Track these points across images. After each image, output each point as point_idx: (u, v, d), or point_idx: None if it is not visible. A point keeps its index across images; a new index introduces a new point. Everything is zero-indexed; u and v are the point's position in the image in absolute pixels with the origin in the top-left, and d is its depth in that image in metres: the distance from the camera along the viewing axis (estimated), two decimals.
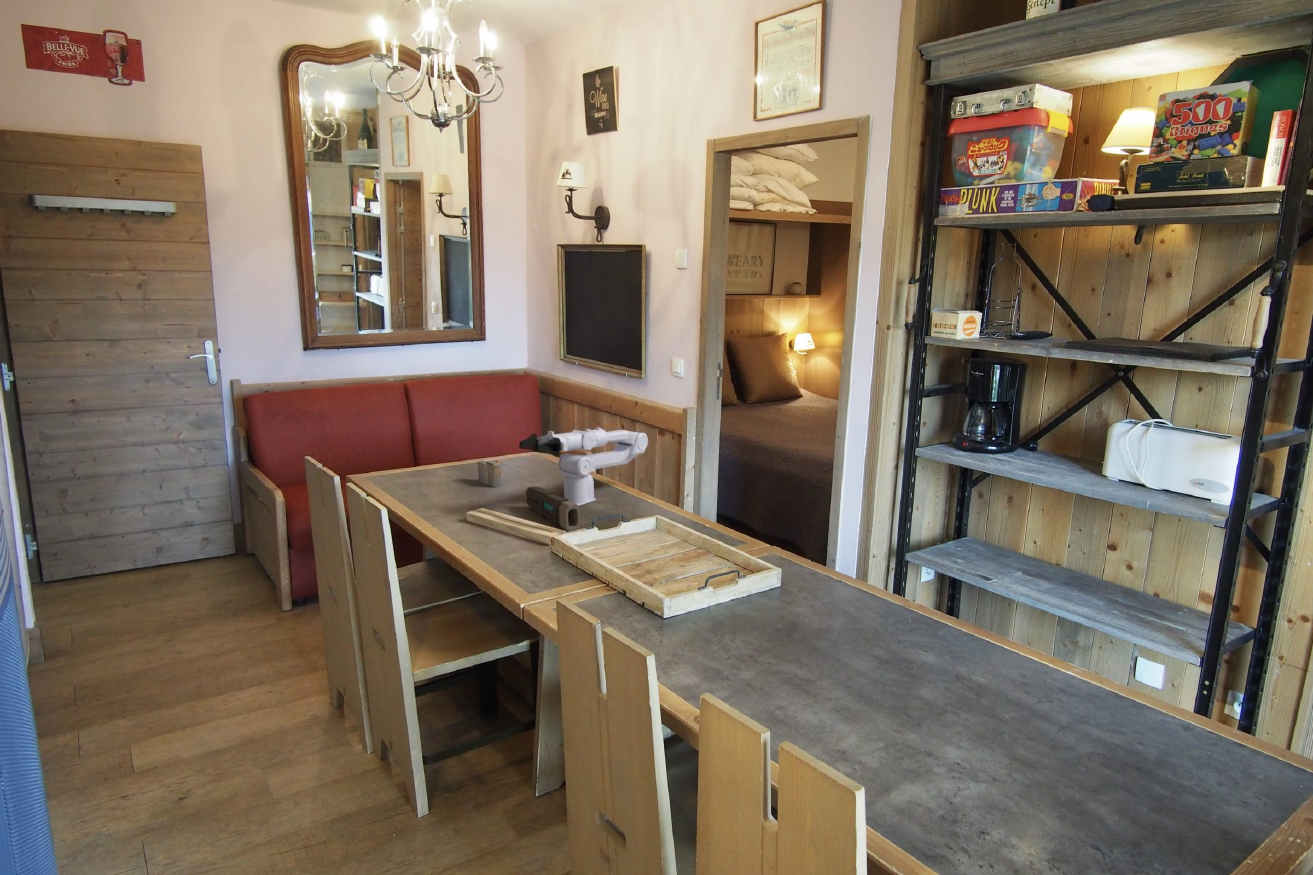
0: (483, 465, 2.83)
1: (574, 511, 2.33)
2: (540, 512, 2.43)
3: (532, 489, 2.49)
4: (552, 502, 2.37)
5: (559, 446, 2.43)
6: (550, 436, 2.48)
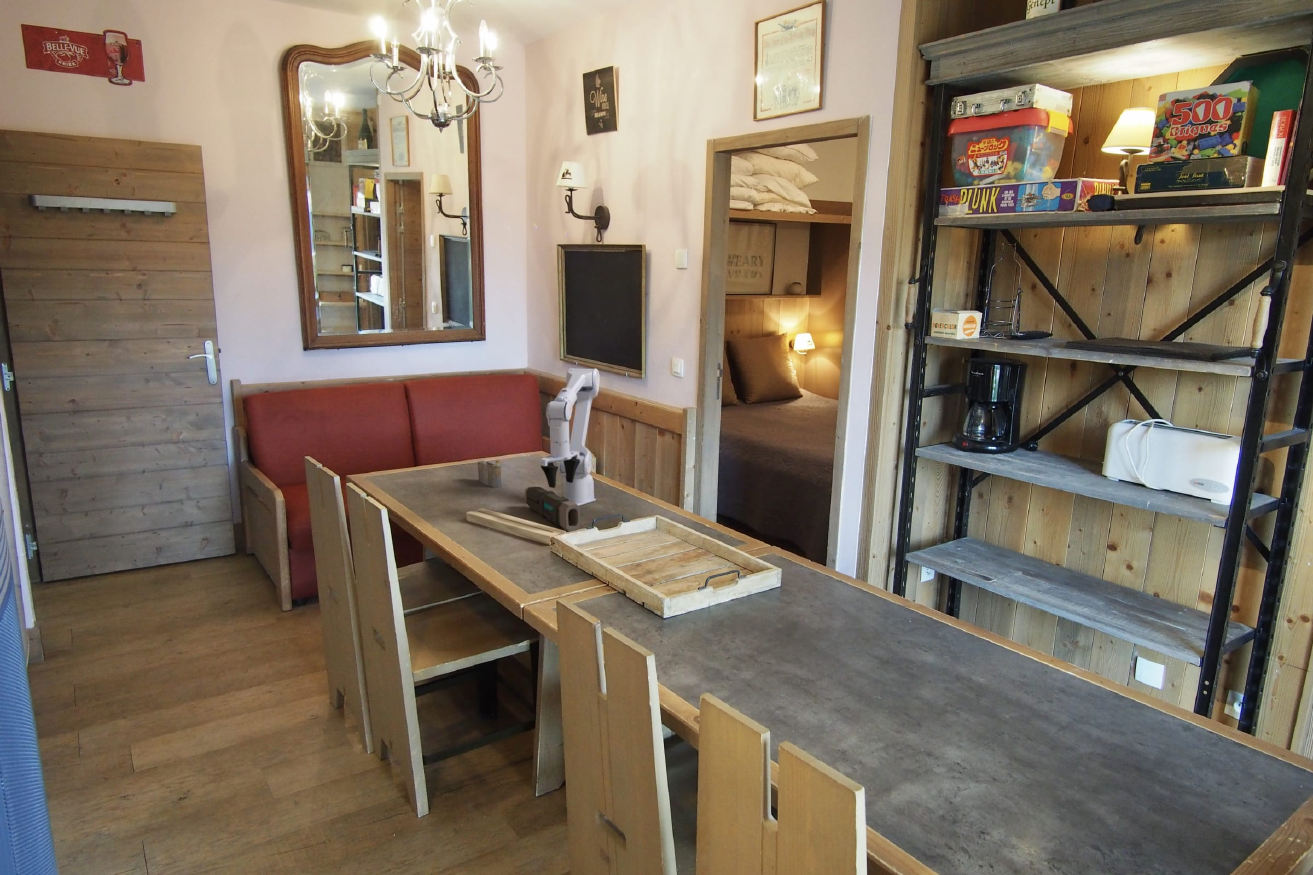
0: (483, 465, 2.83)
1: (574, 511, 2.33)
2: (540, 512, 2.43)
3: (532, 489, 2.49)
4: (552, 502, 2.37)
5: None
6: None
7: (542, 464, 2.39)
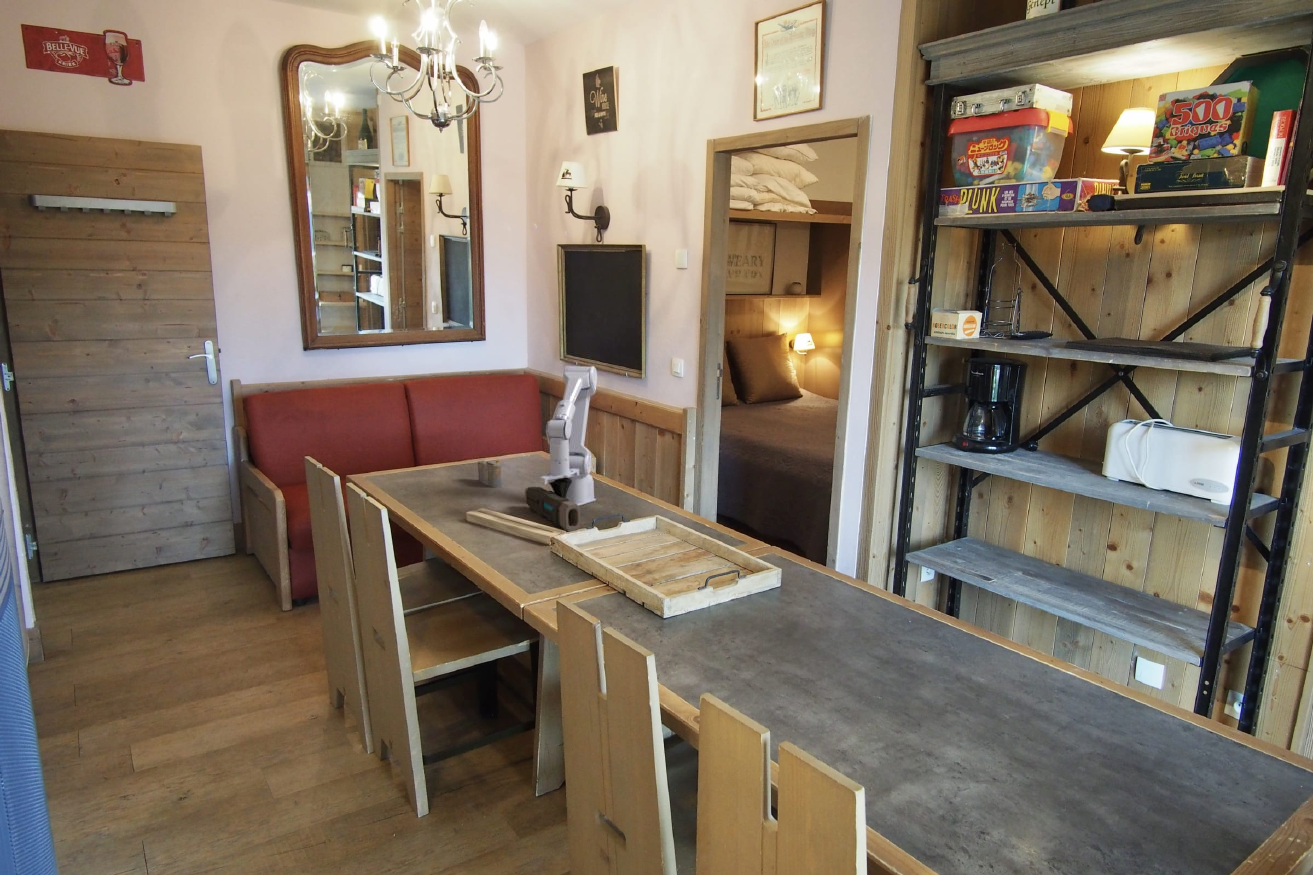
0: (483, 465, 2.83)
1: (574, 511, 2.33)
2: (540, 512, 2.43)
3: (532, 489, 2.49)
4: (552, 502, 2.37)
5: None
6: None
7: (542, 482, 2.40)
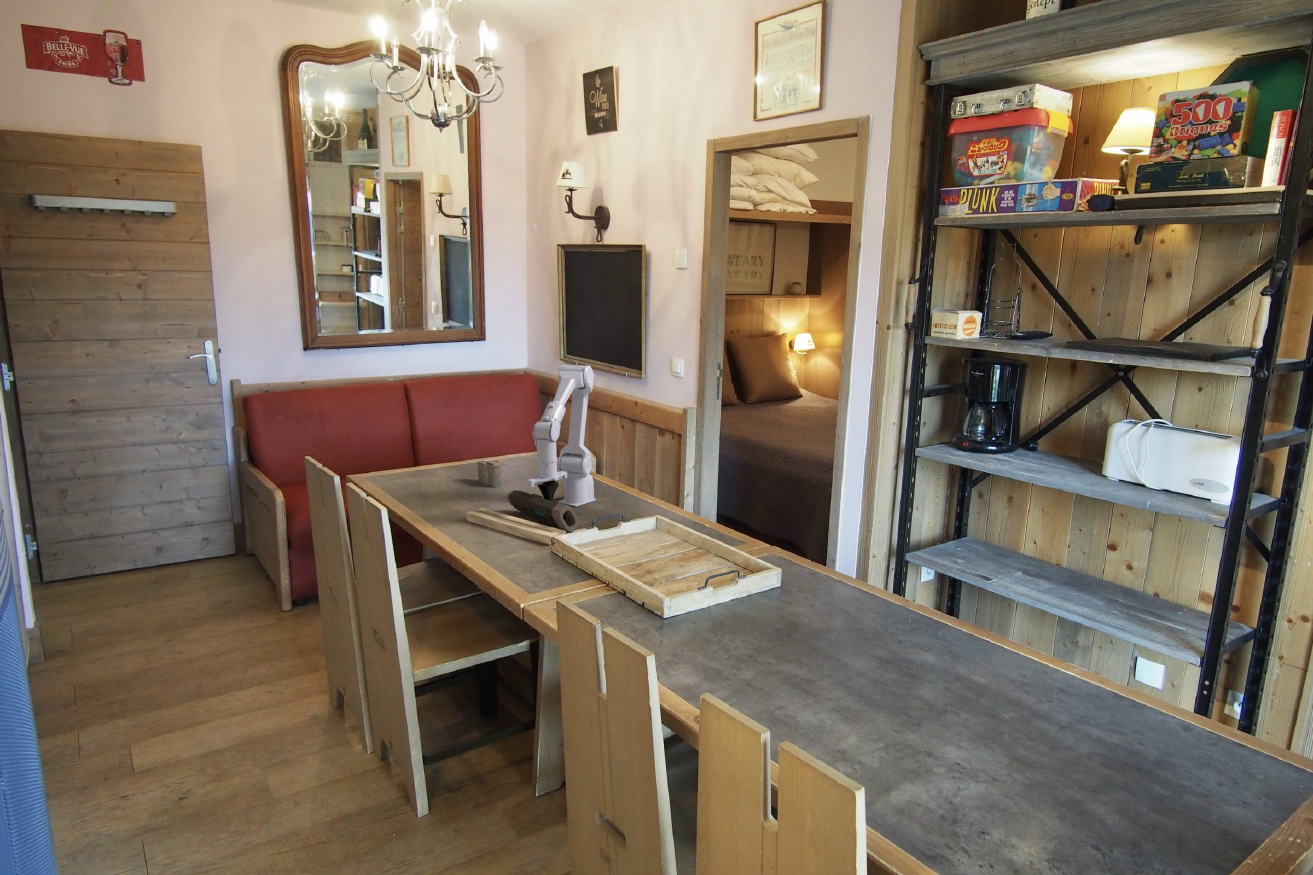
0: (483, 465, 2.83)
1: (567, 511, 2.31)
2: (533, 517, 2.41)
3: (514, 497, 2.44)
4: (541, 509, 2.34)
5: None
6: None
7: (529, 485, 2.36)
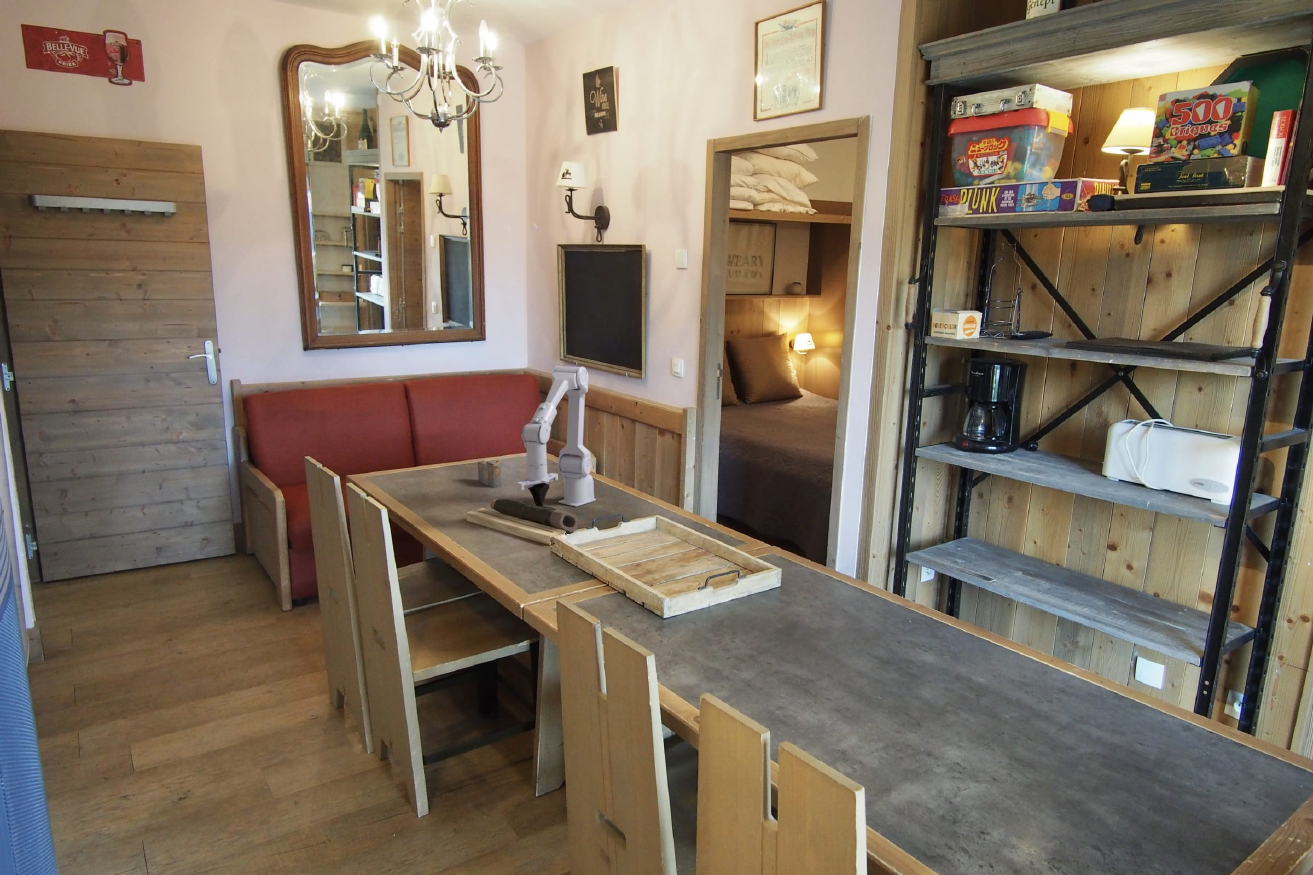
0: (483, 465, 2.83)
1: None
2: None
3: (501, 509, 2.39)
4: (537, 520, 2.31)
5: None
6: None
7: (519, 488, 2.33)
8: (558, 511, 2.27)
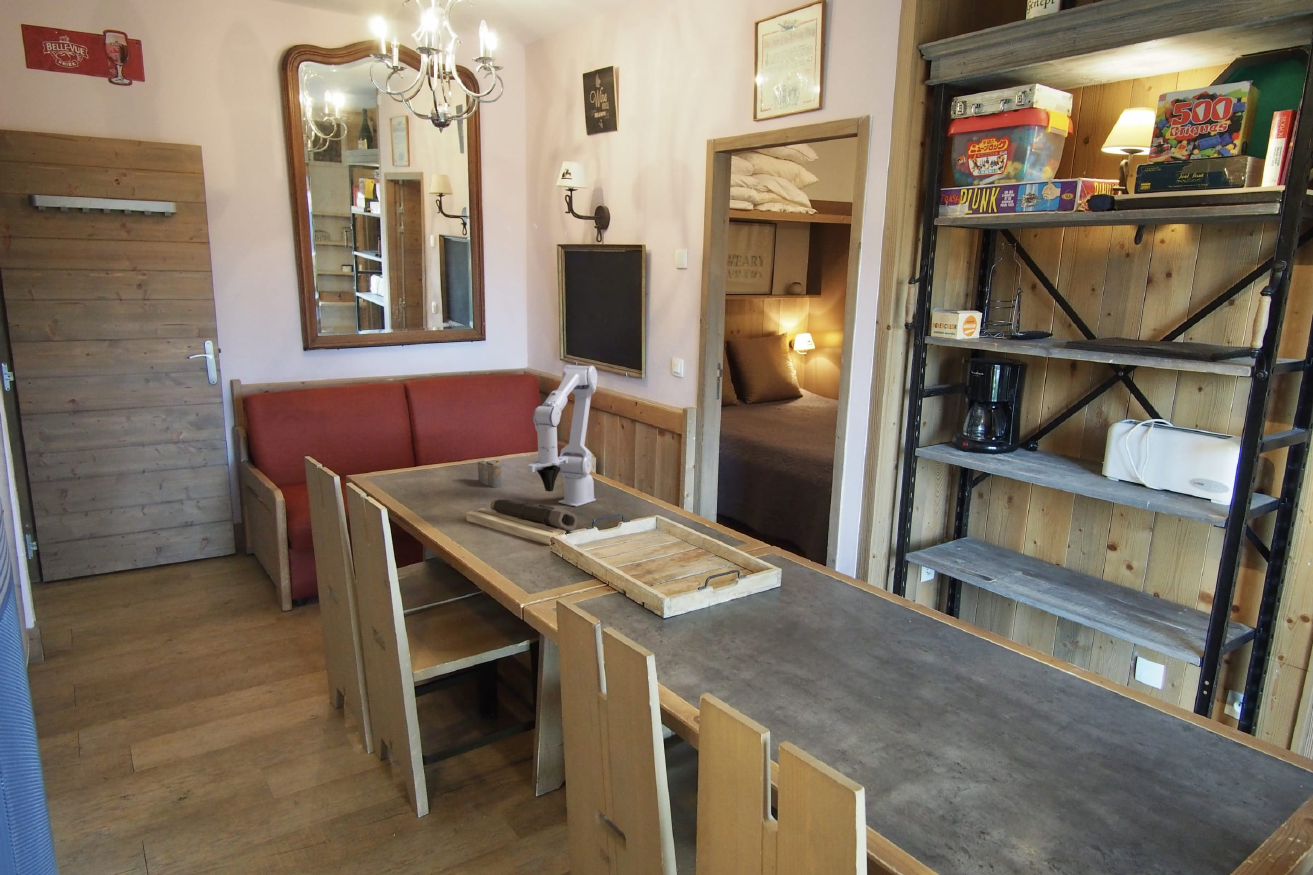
0: (483, 465, 2.83)
1: None
2: None
3: (500, 510, 2.39)
4: (537, 519, 2.31)
5: None
6: None
7: (529, 470, 2.35)
8: (557, 510, 2.27)
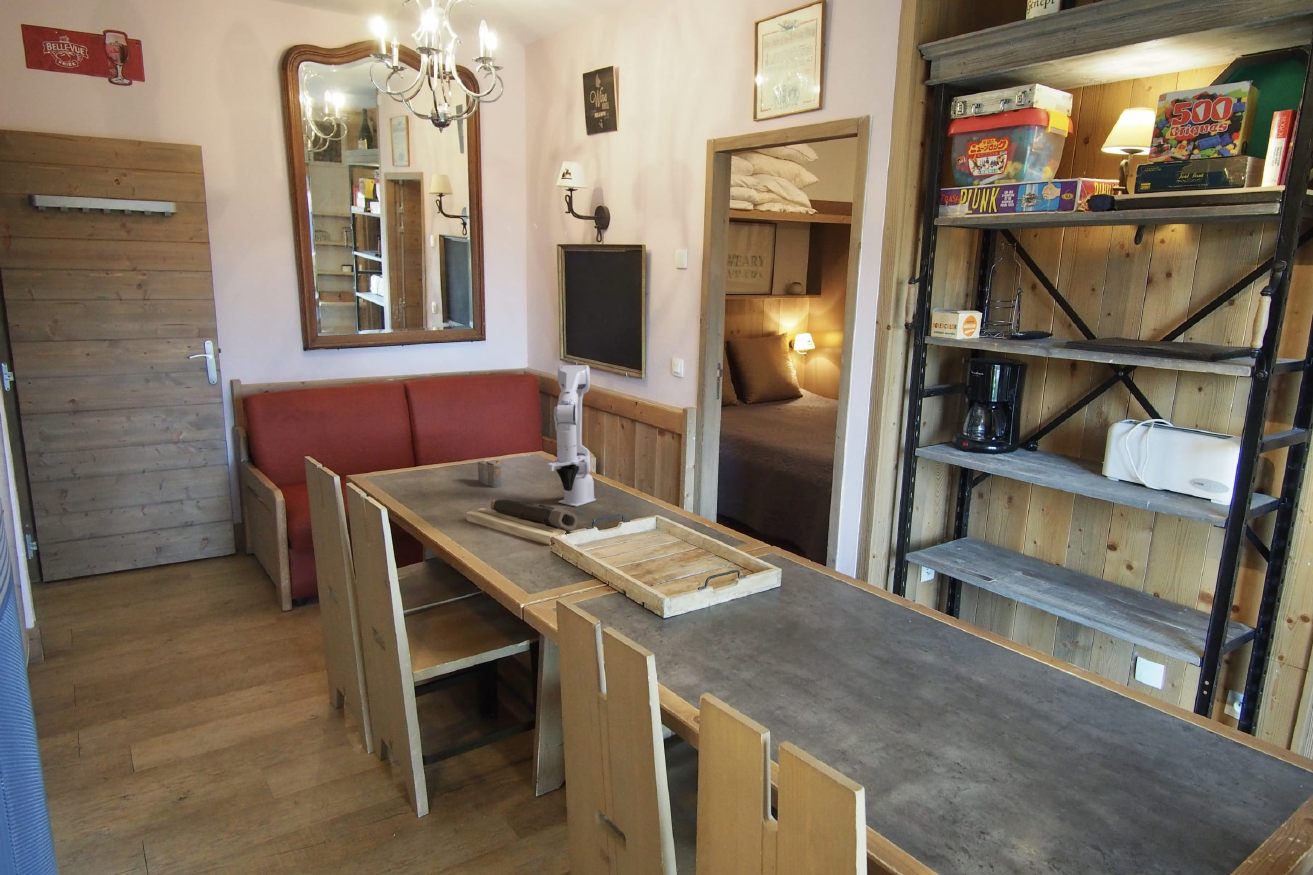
0: (483, 465, 2.83)
1: None
2: None
3: (500, 510, 2.39)
4: (537, 519, 2.31)
5: None
6: None
7: (549, 469, 2.33)
8: (557, 510, 2.27)
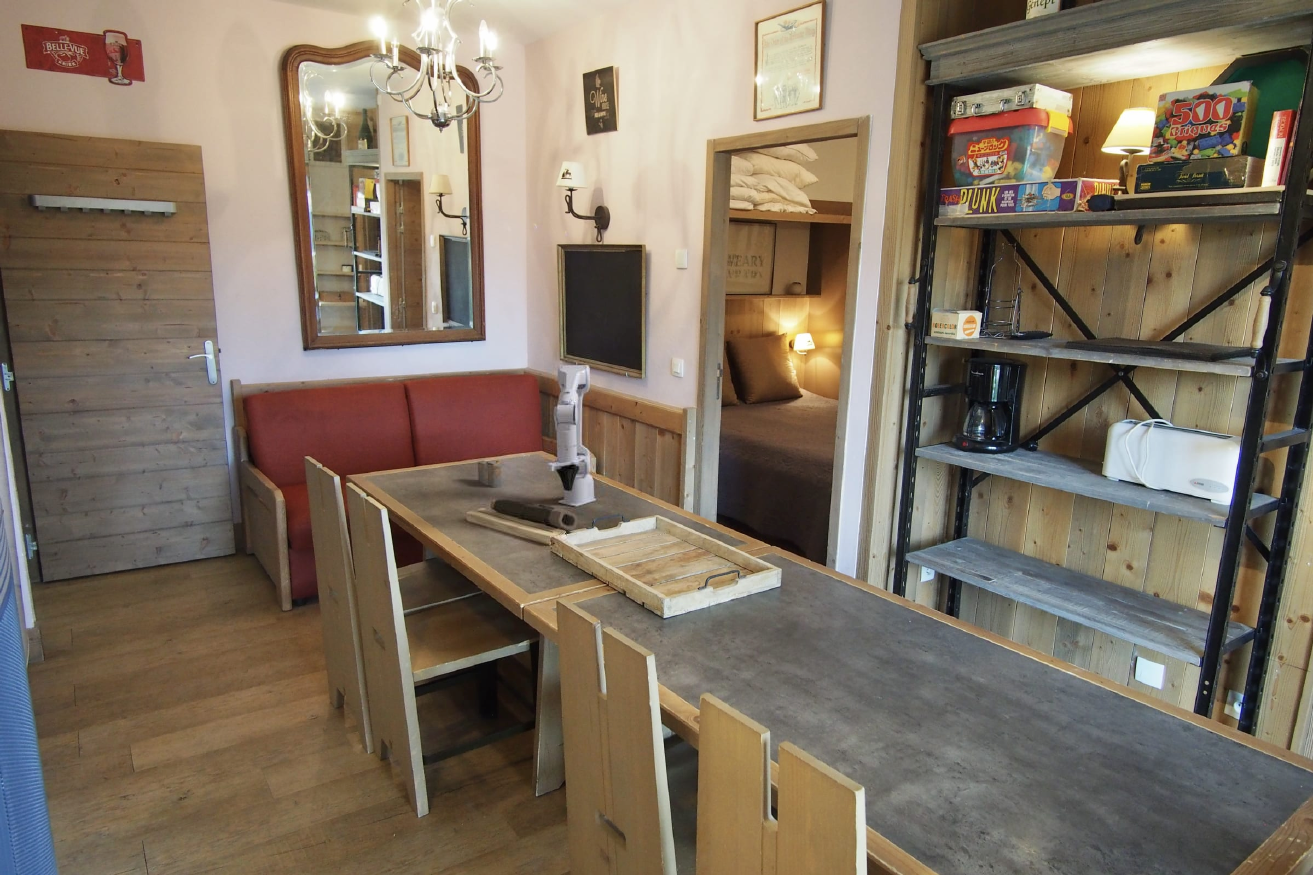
0: (483, 465, 2.83)
1: None
2: None
3: (500, 510, 2.39)
4: (537, 519, 2.31)
5: None
6: None
7: (549, 469, 2.33)
8: (557, 510, 2.27)
